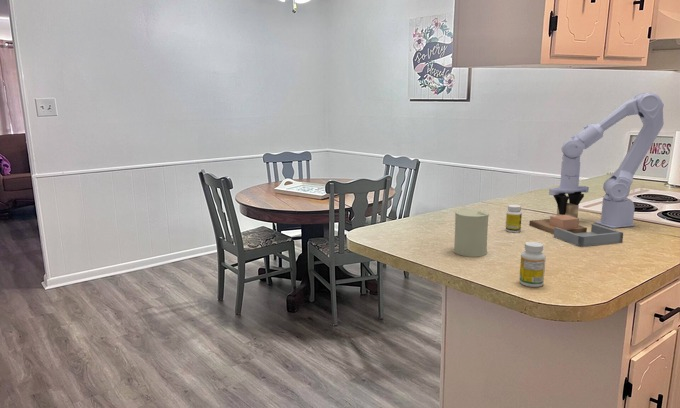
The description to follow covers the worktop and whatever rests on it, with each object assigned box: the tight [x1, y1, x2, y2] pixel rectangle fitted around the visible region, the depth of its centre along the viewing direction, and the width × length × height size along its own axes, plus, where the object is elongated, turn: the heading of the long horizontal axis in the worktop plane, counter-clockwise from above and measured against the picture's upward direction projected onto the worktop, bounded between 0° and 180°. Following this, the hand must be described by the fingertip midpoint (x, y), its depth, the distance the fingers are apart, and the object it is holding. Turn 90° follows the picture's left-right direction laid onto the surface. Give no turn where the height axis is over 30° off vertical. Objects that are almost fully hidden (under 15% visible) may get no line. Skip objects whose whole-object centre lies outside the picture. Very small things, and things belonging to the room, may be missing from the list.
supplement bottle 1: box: [505, 204, 523, 233], centre depth 161 cm, size 5×5×8 cm
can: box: [453, 208, 490, 258], centre depth 139 cm, size 9×9×12 cm
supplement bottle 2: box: [519, 241, 546, 288], centre depth 115 cm, size 5×5×10 cm
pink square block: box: [549, 214, 580, 229], centre depth 160 cm, size 6×6×3 cm
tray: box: [553, 223, 624, 248], centre depth 150 cm, size 15×11×3 cm
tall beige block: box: [556, 202, 580, 219], centre depth 171 cm, size 4×6×5 cm, turn 16°
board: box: [528, 218, 588, 235], centre depth 163 cm, size 11×14×2 cm
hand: (567, 214), depth 171 cm, fingers closed on tall beige block, 4 cm apart
